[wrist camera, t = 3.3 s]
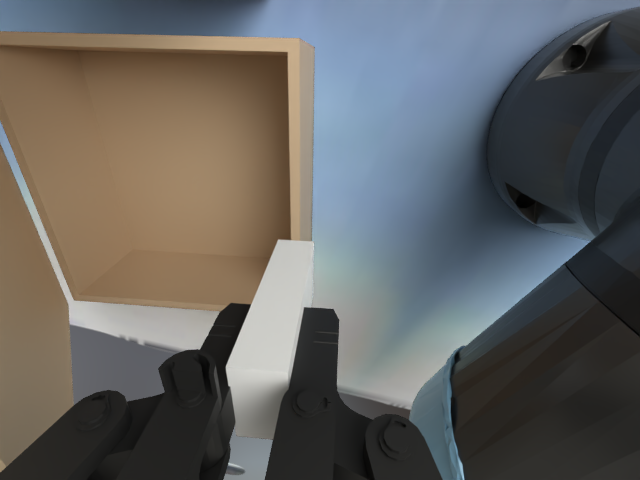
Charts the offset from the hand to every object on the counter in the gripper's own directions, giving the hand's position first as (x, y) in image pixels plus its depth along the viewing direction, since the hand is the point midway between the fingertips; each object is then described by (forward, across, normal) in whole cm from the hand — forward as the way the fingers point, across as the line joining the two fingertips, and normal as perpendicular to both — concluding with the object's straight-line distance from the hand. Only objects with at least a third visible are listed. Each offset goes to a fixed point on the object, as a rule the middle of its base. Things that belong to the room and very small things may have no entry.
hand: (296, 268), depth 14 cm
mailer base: (+15, +10, 0) cm, 18 cm away
